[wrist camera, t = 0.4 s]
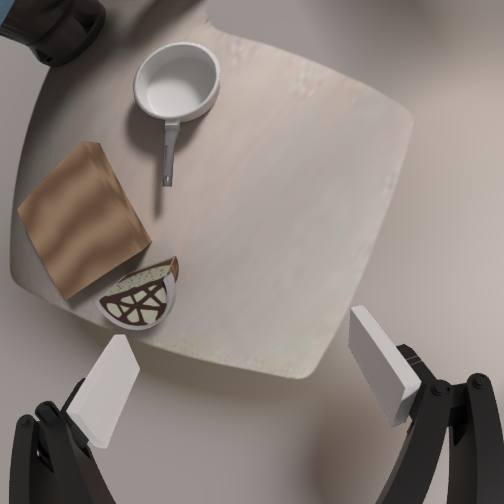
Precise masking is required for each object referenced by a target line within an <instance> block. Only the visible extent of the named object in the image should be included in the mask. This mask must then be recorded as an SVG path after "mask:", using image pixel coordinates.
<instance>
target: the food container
mask: <svg viewBox="0 0 504 504" xmlns="http://www.w3.org/2000/svg"><path fill="white" fill-rule="evenodd" d="M178 271H179V267H178V261H177V258H176V256H174V257H171V258H169V259H166V260H163V261H160V262H157V263H154V264H152V265H149V266H146V267H143V268H141V269H138V270H135V271H132V272H130V273H127V274H125V275H124V276H123V277H122V278H121V279H120V280H119V281H118V282H116V283H115V284H114V285H113V286H112V287H111V288H110V289H109V290H108V291H106V292H105V293H104V294H103V295H102V296H101V297H100V298H99V297H98V298H97V299H96V301H95V304H96V306H97V308H98V309H99V310H100V312H101V313H102V314H103V315H104V316H105V317H106V318H107V319H109V320H110V321H111V322H113V323H114V324H116V325H118V326H120V327H123V328H126V329H131V330H143V329H147V328H150V327H153V326H155V325H157V324H158V323H160V322H161V321H162V320H163V319H164V318H165V317H166V316H167V315H168V314H169V313H170V311H171V309H172V307H173V305H174V302H175V297H176V285H175V283H176V280H177V277H178Z"/></svg>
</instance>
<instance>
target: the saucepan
mask: <svg viewBox="0 0 504 504" xmlns="http://www.w3.org/2000/svg"><path fill="white" fill-rule="evenodd" d="M219 90H220V67H219V63H218V61H217V59H216V57H215V56H214V55H213V53H212V52H211V51H210V50H208V49H207V48H205V47H204V46H202V45H199V44H197V43H192V42H176V43H171V44H168V45H165V46H163V47H161V48H159V49H157V50H155V51H154V52H153V53H151V54H150V55H149V56H148V57H147V58H146V59H145V60H144V61H143V62H142V64H141V65H140V67H139V68H138V70H137V73H136V75H135V78H134V83H133V92H134V97H135V99H136V102H137V104H138V105H139V106H140V108H141V109H142V110H143V111H144V112H146V113H147V114H148V115H150V116H152V117H155V118H159V119H164V120H165V125H164V131H165V146H164V163H163V186H172V176H173V160H174V147H175V143H176V140H177V137H178V134H179V132H180V127H181V126H180V122H187V121H191V120H194V119H196V118H198V117H200V116H201V115H203V114H204V113H206V112H207V111H208V110H209V109H210V108H211V107H212V105H213V104H214V102H215V101H216V99H217V97H218V94H219ZM167 176H168V177H169V181H168V182H167V180H166V178H167Z"/></svg>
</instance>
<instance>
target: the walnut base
mask: <svg viewBox="0 0 504 504" xmlns="http://www.w3.org/2000/svg"><path fill="white" fill-rule="evenodd" d="M17 210H18V213H19V215H20V217H21V220H22V222H23V224H24V226H25V228H26V231H27V233H28V235H29V237H30V239H31V241H32V243H33V245H34V247H35V249H36V251H37V253H38V255H39V257H40V258H41V260H42V262H43V264H44V266H45V267H46V269H47V271H48V273H49V274H50V276H51V278H52V280H53V281H54V283H55V285H56V286H57V288H58V289H59V291H60V293H61V294H62V296H63V297H64V299H65V300H67V299H69V298H70V297H72V296H73V295H74V294H76V293H77V292H79V291H80V290H82V289H83V288H85V287H86V286H88V285H89V284H91V283H92V282H94V281H95V280H97V279H98V278H100V277H101V276H103V275H104V274H106V273H107V272H109V271H110V270H112V269H114V268H115V267H117V266H118V265H120V264H121V263H123V262H124V261H126V260H128V259H129V258H131V257H132V256H134V255H136V254H137V253H139V252H141V251H142V250H143V249H144V248H145V247H146V246H148V245H149V244H150V243H151V242H152V241H151V239H150V237H149V235H148V234H147V232H146V230H145V229H144V227H143V225H142V223H141V222H140V220H139V218H138V216H137V215H136V213H135V211H134V209H133V207H132V206H131V204H130V202H129V200H128V198H127V197H126V195H125V193H124V191H123V189H122V187H121V185H120V183H119V181H118V180H117V178H116V176H115V174H114V172H113V170H112V168H111V166H110V164H109V162H108V160H107V158H106V156H105V154H104V152H103V149H102V147H101V145H100V143H94V142H85V141H83V142H82V143H80V144H79V145H78V146H77V147H76V148H75V149H74V150H73V151H72V152H70V153H69V154H68V155H67V156H66V157H65V158H64V159H63V160H62V161H61V162H60V163H59V164H58V165H57V166H56V167H55V168H54V169H53V170H52V171H51V172H50V173H49V174H48V175H47V176H46V177H45V178H44V179H43V180H42V181H41V182H40V184H39V185H38V186H37V187H36V188H35V189H34V190H33V191H32V192H31V194H30V195H29V196H28V197H27V198H26V199H25V201H24V202H23V203H22V204H21V205H20V207H19V208H18V209H17Z"/></svg>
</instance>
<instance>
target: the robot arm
mask: <svg viewBox="0 0 504 504" xmlns="http://www.w3.org/2000/svg"><path fill="white" fill-rule="evenodd" d="M105 15H106V12H105V8H104V6H103V5H102V4H101V3H100V2H99V1H98V0H0V36H3V37H6V38H8V39H11V40H14V41H16V42H19V43H21V44H24V45H26V46H28V47H29V48H30V50H31V51H32V52H33V54H34V55H35V56H36V58H37V59H38V60H39V61H40V62H41V63H43V64H45V65H48V66H51V67H57V66H61V65H64V64H66V63H68V62H70V61H71V60H73V59H75V58H76V57H77V56H79V55H80V54H81V53H82V52H83V51H84V50H85V49H86V48H87V47H88V46H89V45H90V44H91V43H92V42H93V40H94V39H95V38H96V36H97V35H98V33H99V32H100V30H101V28H102V26H103V23H104V20H105ZM348 346H349V348H350V350H351V352H352V354H353V356H354V357H355V359H356V361H357V363H358V365H359V367H360V369H361V370H362V372H363V374H364V376H365V378H366V380H367V382H368V384H369V385H370V387H371V389H372V391H373V393H374V395H375V397H376V399H377V401H378V403H379V405H380V407H381V409H382V411H383V413H384V414H385V417H386V418H387V421H388V423H389V424H390V426H391V428H392V427H394V426H397V425H399V424H402V423H405V422H406V420H407V418H408V416H409V415H410V417H411V419H412V423H411V424H410V427H409V429H408V431H407V436H406V439H405V441H404V444H403V447H402V449H401V451H400V454H399V456H398V459H397V461H396V463H395V466H394V468H393V470H392V472H391V474H390V476H389V478H388V481H387V482H386V485H385V486H384V488H383V490H382V493H381V494H380V496H379V498H378V500H377V501H376V503H375V504H422V503H423V501H424V499H425V497H426V494H427V491H428V489H429V486H430V484H431V481H432V478H433V475H434V472H435V469H436V466H437V462H438V459H439V456H440V453H441V449H442V445H443V441H444V437H445V433H446V429H447V427H449V482H448V483H449V484H448V495H447V504H504V441H503V435H502V428H501V423H500V418H499V413H498V408H497V404H496V400H495V396H494V392H493V388H492V385H491V381H490V380H489V378H488V377H487V376H486V375H484V374H481V373H475V374H472V375H471V376H470V377H469V378H468V380H467V382H466V383H463V384H457V385H451V384H450V383H448V382H447V381H444V380H437V379H436V378H435V377H434V375H433V374H432V373H431V371H430V370H429V369H428V368H427V366H426V365H425V364H424V363H423V361H421V359H420V358H419V357H418V356H417V354H416V353H415V351H414V350H413V349H412V348H410V347H408V346H407V345H405V344H403V345H399V346H396V347H395V345H394V344H393V343H392V341H391V340H390V339H389V338H388V336H387V335H386V334H385V332H384V331H383V330H382V329H381V327H380V326H379V325H378V324H377V322H376V321H375V320H374V319H373V317H372V316H371V315H370V314H369V312H368V311H367V310H366V309H365V307H364V306H363V305H361V306H357V307H351V308H350V328H349V344H348ZM139 370H140V368H139V366H138V364H137V362H136V359H135V357H134V355H133V352H132V350H131V348H130V345H129V343H128V340H127V338H126V336H125V334H122V335H114V337H113V338H112V340H111V341H110V343H109V344H108V345H107V347H106V348H105V350H104V351H103V353H102V354H101V356H100V357H99V359H98V360H97V362H96V363H95V365H94V367H93V368H92V370H91V371H90V373H89V374H88V376H87V378H83V379H82V380H81V381H80V382H78V383H77V385H76V386H75V388H74V389H73V391H72V393H71V394H70V396H69V397H68V399H67V401H66V402H65V404H64V406H63V407H62V409H61V411H59V410H58V408H57V407H56V405H55V404H54V403H53V402H51V401H45V402H43V403H40V404H39V405H38V406H37V408H36V410H35V415H36V416H37V417H38V418H39V420H40V421H36V420H35V419H34V418H33V416H31V415H23V416H22V417H20V419H19V420H18V422H17V425H16V430H15V436H14V442H13V449H12V457H11V467H10V481H9V504H116V503H115V501H114V499H113V497H112V495H111V494H110V492H109V490H108V488H107V486H106V484H105V482H104V480H103V478H102V475H101V473H100V471H99V469H98V467H97V464H96V462H95V460H94V457H93V455H92V452H91V450H90V448H89V447H88V445H87V443H88V441H90V442H91V443H92V444H93V445H94V446H95V447H99V448H104V449H107V447H108V444H109V442H110V439H111V436H112V434H113V432H114V429H115V427H116V424H117V421H118V419H119V417H120V414H121V412H122V409H123V407H124V405H125V402H126V400H127V398H128V395H129V393H130V391H131V388H132V386H133V384H134V381H135V379H136V377H137V375H138V372H139ZM37 451H38V452H39V456H38V455H37Z"/></svg>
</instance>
